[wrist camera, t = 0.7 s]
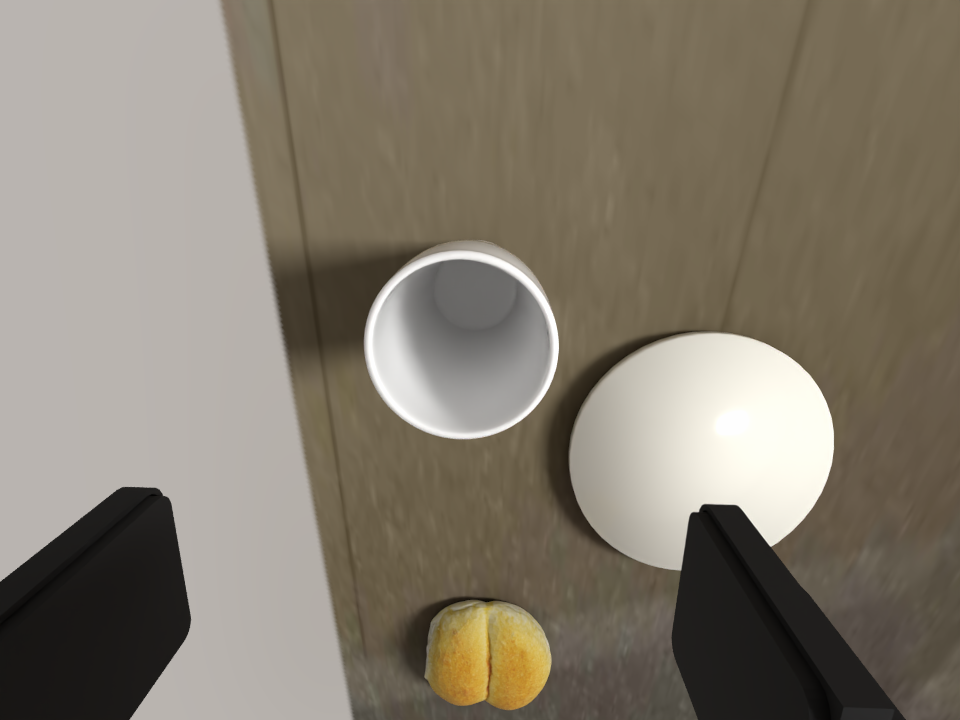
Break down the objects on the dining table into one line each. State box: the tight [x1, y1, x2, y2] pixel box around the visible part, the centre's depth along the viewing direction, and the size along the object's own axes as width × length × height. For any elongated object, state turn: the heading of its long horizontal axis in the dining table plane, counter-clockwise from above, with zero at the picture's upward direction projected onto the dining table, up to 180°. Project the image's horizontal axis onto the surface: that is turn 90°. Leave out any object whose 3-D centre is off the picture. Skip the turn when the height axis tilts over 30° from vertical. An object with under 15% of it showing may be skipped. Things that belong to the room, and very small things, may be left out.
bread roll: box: [424, 600, 551, 710], centre depth 38 cm, size 8×9×4 cm
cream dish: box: [569, 331, 834, 570], centre depth 35 cm, size 16×16×2 cm
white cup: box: [364, 240, 559, 439], centre depth 26 cm, size 7×7×15 cm
